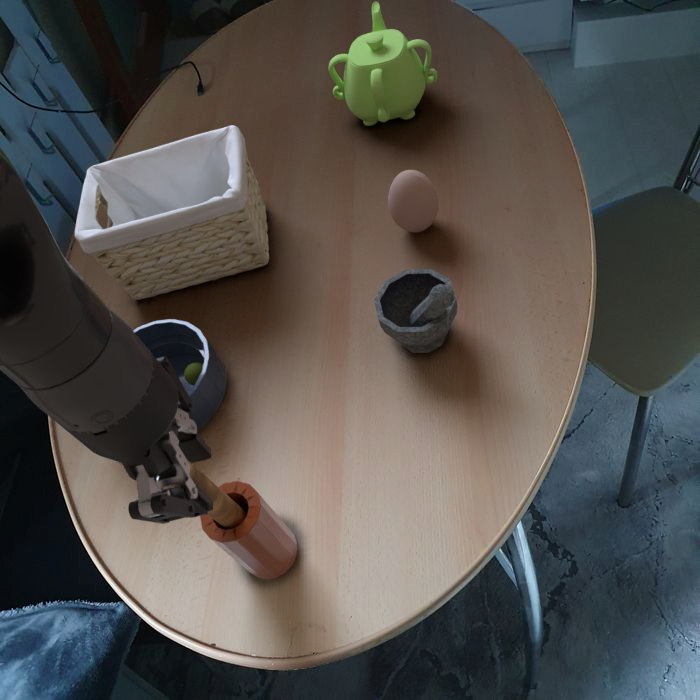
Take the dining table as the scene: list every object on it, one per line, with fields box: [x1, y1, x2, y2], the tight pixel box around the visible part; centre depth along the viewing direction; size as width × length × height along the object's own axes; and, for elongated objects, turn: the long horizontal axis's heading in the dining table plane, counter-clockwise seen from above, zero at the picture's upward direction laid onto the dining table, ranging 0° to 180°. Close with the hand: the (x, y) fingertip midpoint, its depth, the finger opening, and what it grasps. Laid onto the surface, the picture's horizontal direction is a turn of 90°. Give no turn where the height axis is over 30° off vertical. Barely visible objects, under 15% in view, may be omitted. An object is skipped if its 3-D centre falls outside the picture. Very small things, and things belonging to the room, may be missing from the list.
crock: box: [199, 480, 298, 580], centre depth 69 cm, size 6×6×12 cm
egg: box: [387, 169, 439, 233], centre depth 92 cm, size 7×7×10 cm
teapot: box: [328, 0, 439, 127], centre depth 109 cm, size 16×14×13 cm
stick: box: [170, 460, 248, 530], centre depth 64 cm, size 2×2×22 cm
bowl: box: [132, 318, 228, 432], centre depth 86 cm, size 15×15×6 cm
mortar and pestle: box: [373, 268, 458, 354], centre depth 80 cm, size 11×9×12 cm
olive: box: [184, 363, 203, 386], centre depth 87 cm, size 3×3×3 cm
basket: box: [74, 124, 270, 301], centre depth 98 cm, size 24×16×15 cm
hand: (201, 482), depth 59 cm, fingers open, 4 cm apart
